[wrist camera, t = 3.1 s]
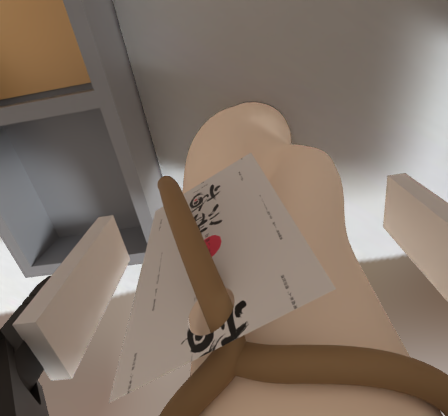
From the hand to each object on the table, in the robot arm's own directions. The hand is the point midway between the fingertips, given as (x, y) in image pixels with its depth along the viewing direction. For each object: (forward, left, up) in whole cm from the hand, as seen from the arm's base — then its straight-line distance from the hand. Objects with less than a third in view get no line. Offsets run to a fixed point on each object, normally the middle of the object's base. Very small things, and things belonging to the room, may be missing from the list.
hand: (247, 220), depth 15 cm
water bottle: (0, 0, -16) cm, 16 cm away
